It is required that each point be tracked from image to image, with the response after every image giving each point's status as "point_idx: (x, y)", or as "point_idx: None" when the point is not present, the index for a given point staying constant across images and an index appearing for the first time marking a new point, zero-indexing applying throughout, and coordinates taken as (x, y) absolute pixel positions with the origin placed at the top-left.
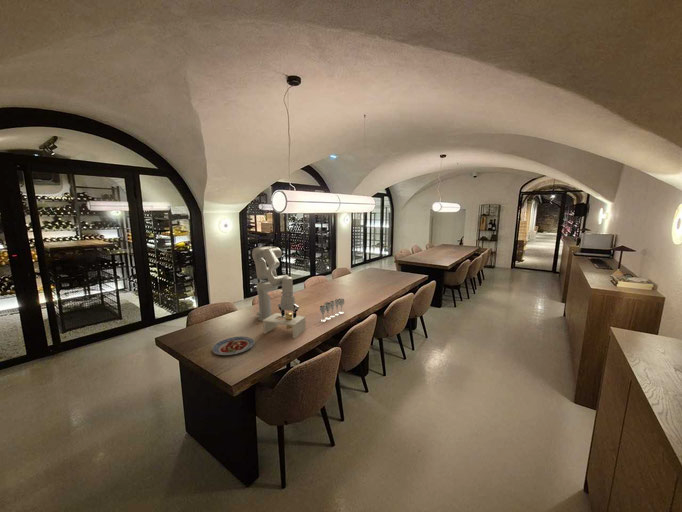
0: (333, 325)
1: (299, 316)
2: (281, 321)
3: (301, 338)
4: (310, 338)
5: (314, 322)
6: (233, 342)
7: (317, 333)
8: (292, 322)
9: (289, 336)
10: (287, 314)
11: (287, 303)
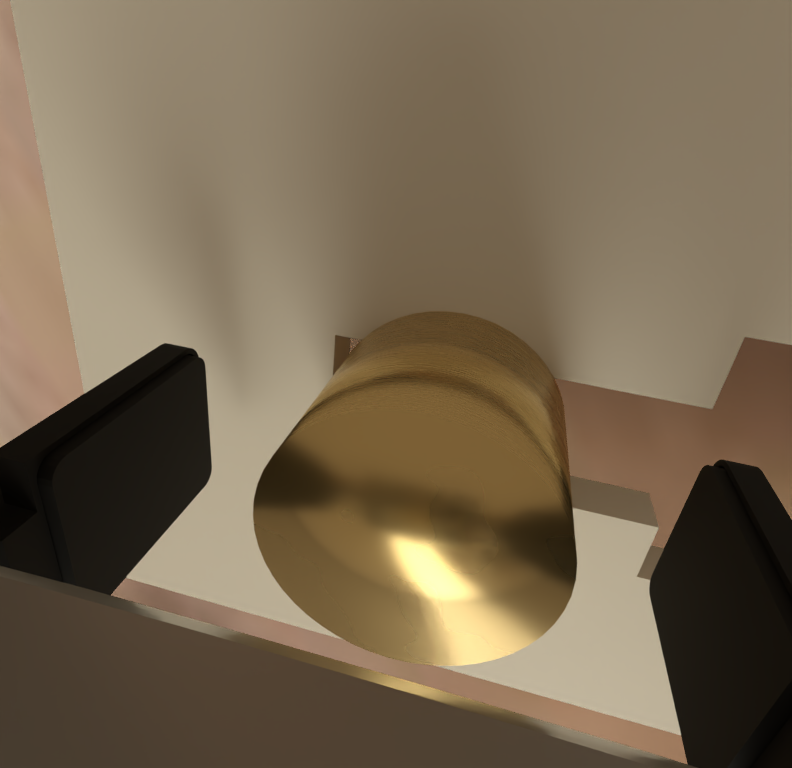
0: None
1: (249, 592)
2: (665, 157)
3: None
4: (7, 84)
5: (263, 622)
6: None
7: (33, 300)
8: (179, 136)
9: None
10: (428, 482)
11: None
